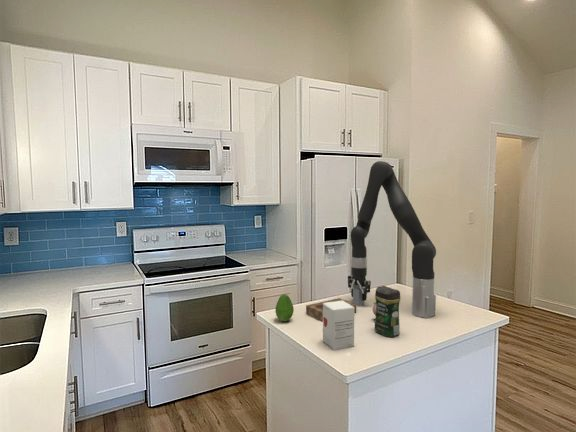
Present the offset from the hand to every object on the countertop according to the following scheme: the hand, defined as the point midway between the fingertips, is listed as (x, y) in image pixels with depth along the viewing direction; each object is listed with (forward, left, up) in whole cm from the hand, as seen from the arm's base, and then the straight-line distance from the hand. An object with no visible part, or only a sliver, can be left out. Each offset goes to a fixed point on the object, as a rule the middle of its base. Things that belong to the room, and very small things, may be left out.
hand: (358, 298), depth 187 cm
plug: (0, 0, -3) cm, 3 cm away
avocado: (+1, +43, -3) cm, 43 cm away
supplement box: (-30, +39, -3) cm, 49 cm away
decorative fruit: (-23, +7, -3) cm, 24 cm away
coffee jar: (-33, +16, -3) cm, 37 cm away
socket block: (-3, +20, -3) cm, 20 cm away
